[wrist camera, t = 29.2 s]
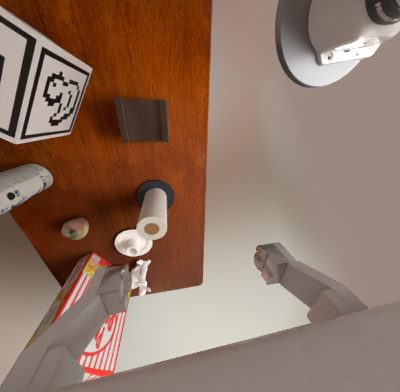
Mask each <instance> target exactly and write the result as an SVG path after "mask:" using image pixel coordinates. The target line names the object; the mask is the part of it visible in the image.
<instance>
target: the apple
mask: <svg viewBox="0 0 400 392" xmlns="http://www.w3.org/2000/svg"><path fill="white" fill-rule="evenodd" d="M88 230H89V223H88V221H87V220H86V219H84V218H82V217H79V218H75V219H72V220H70V221H68V222H66V223H65V224H64V225H63V227H62V230H61V232H62V235H63V236H64V237H68V238H71V239H74V240H78V239H81V238H83V237H84V236H85V235H86V234H87V232H88Z"/></svg>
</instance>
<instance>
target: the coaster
mask: <svg viewBox="0 0 400 392" xmlns="http://www.w3.org/2000/svg"><path fill="white" fill-rule="evenodd" d="M152 188H159V189H161V190H163V191H164V192H165V193H166V196H167V209H169V208H170V207H171V206H172V204H173V202H174V192H173V190H172V188H171V187H170V186H169V185H168V184H167V183H165V182H163V181H159V180H151V181H148V182H145V183H144V184H142V185H141V186H140V188H139V189H138V192H137V201H138V203H139V205H140V206H141V207H142V205H143V201H144V197H145V194H146V192H147V191H148V190H150V189H152Z"/></svg>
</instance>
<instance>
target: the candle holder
mask: <svg viewBox="0 0 400 392" xmlns="http://www.w3.org/2000/svg"><path fill="white" fill-rule="evenodd" d="M115 247H116V249H117V250H118V251H119V252H120V253H122V254H124V255H127V256H140V255H143V254H145V253H147V252H148V251H149V250H150V249H151V247H152V240H147V239H144V238H142V237H141V236H139V234H138V233H137V230H126V231H123V232H122V233H120V234H118V236H117V237H116V239H115Z"/></svg>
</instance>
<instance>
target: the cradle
mask: <svg viewBox="0 0 400 392" xmlns="http://www.w3.org/2000/svg"><path fill="white" fill-rule="evenodd" d="M114 103H115V108H116V113H117V118H118V123H119V128H120V134H121V139H122V142H130V141H163V142H169V127H168V110H167V101H166V100H142V99H122V98H114Z"/></svg>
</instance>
